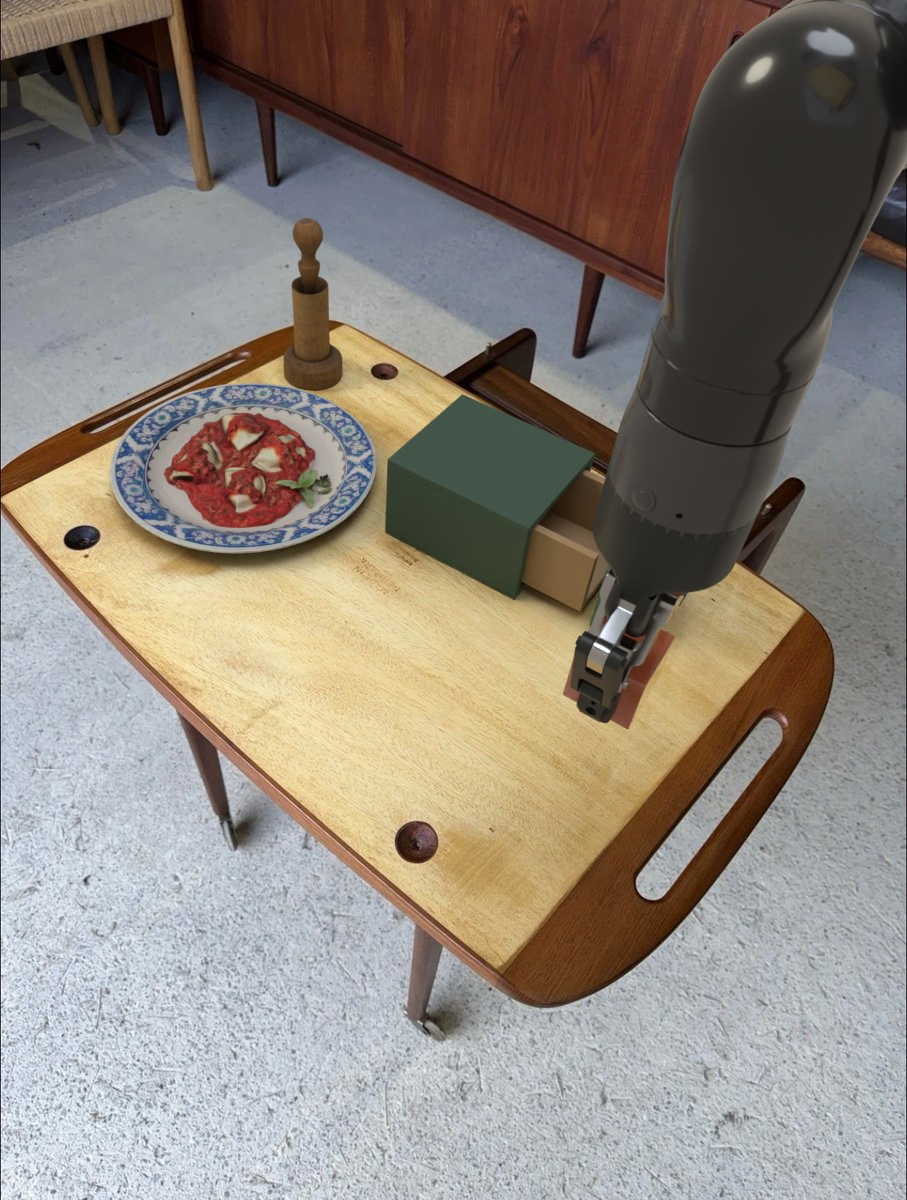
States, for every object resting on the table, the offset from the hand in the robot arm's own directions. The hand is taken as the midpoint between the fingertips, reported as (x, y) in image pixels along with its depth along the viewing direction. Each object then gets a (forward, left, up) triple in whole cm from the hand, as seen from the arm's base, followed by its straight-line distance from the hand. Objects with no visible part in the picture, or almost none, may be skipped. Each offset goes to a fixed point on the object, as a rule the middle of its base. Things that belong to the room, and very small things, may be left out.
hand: (611, 684), depth 56 cm
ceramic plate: (+44, -15, -17) cm, 50 cm away
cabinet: (+21, -23, -16) cm, 35 cm away
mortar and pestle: (+50, -33, -17) cm, 62 cm away
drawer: (+10, -23, -16) cm, 29 cm away
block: (0, 0, 0) cm, 0 cm away
